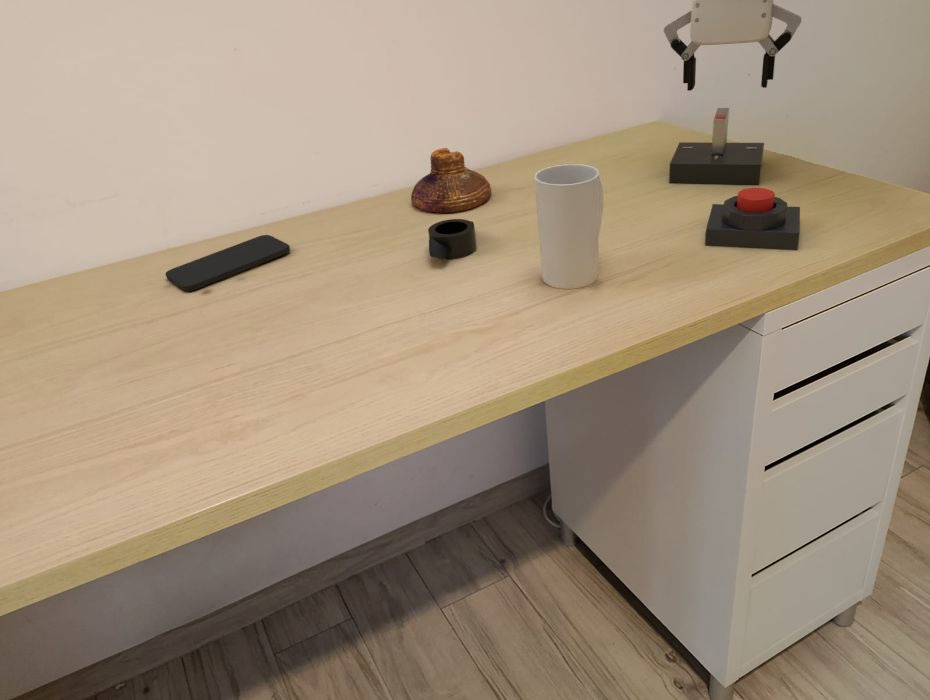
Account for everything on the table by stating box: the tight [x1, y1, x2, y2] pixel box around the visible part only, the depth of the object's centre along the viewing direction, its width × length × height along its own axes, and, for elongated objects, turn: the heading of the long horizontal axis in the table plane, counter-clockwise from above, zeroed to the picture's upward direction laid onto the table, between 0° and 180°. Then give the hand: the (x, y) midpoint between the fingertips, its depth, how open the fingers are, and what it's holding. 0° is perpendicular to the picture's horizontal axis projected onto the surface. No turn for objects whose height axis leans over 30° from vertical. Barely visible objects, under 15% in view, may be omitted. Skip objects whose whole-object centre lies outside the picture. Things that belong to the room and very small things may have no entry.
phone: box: [165, 234, 291, 292], centre depth 97 cm, size 7×1×15 cm
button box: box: [704, 195, 801, 251], centre depth 88 cm, size 10×8×4 cm
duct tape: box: [427, 218, 478, 260], centre depth 94 cm, size 8×10×3 cm
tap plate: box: [668, 141, 765, 187], centre depth 108 cm, size 12×12×3 cm
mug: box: [534, 163, 604, 290], centre depth 82 cm, size 10×7×12 cm, turn 138°
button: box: [737, 187, 776, 212], centre depth 86 cm, size 4×4×2 cm
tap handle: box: [711, 107, 730, 155], centre depth 107 cm, size 6×2×5 cm, turn 159°
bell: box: [410, 147, 492, 214], centre depth 108 cm, size 12×12×7 cm
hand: (727, 86), depth 104 cm, fingers open, 9 cm apart
